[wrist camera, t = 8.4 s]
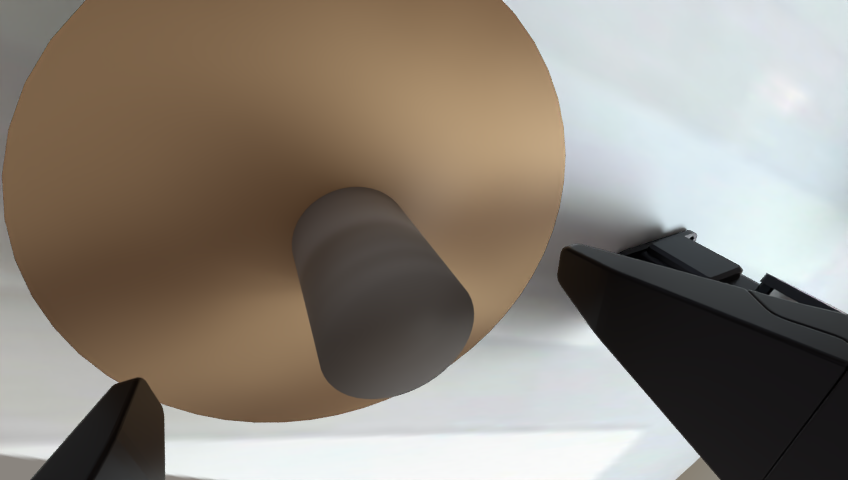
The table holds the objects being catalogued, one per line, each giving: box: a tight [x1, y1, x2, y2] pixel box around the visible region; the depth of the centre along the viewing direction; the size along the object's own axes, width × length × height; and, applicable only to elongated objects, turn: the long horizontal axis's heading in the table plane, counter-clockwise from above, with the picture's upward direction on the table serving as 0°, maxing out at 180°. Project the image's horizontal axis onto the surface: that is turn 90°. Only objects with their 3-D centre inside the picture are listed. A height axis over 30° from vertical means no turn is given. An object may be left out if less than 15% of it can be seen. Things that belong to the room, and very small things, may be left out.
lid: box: [2, 0, 565, 422], centre depth 10 cm, size 14×14×5 cm
